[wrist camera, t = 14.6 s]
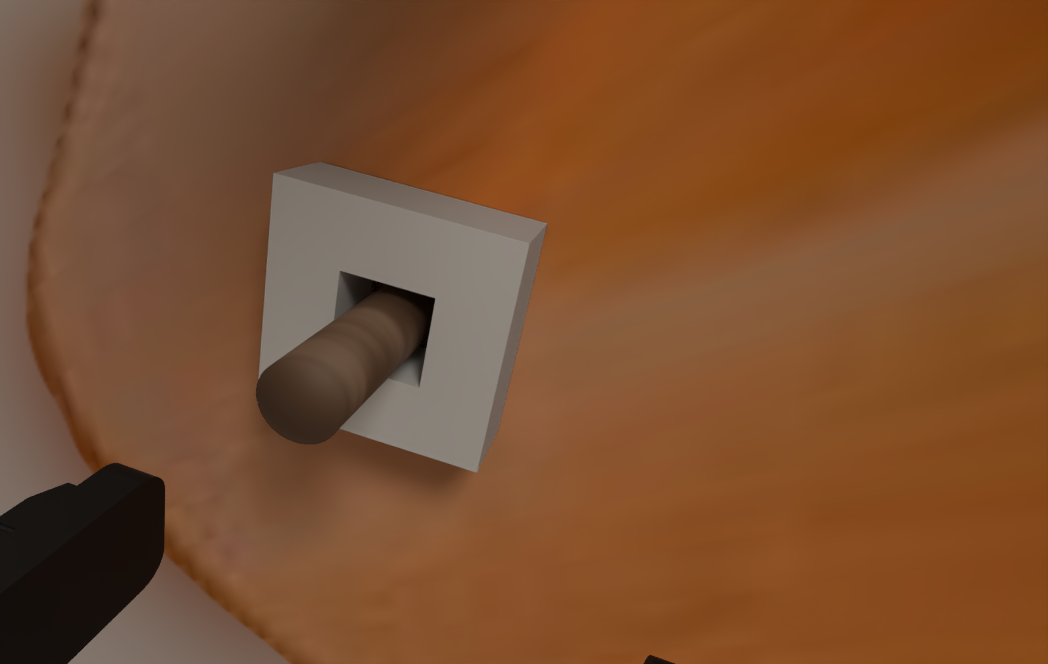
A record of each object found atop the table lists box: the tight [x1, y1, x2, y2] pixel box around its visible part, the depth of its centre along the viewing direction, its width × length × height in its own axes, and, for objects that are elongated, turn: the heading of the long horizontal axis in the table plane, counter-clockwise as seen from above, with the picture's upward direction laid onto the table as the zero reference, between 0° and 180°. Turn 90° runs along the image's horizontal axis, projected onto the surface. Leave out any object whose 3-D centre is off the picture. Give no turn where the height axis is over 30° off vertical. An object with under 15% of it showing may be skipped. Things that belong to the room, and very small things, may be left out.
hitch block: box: [258, 162, 547, 472], centre depth 40 cm, size 14×14×5 cm
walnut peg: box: [256, 284, 435, 444], centre depth 35 cm, size 4×4×14 cm
